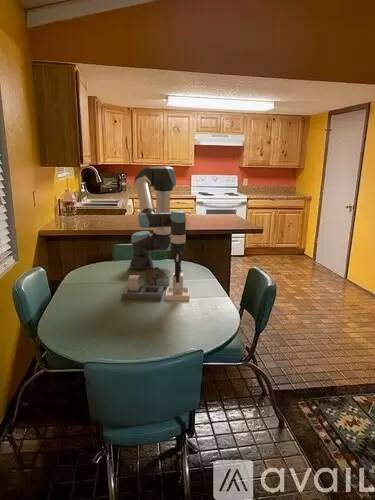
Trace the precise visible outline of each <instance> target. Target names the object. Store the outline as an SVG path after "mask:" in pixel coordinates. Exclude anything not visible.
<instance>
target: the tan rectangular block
mask: <svg viewBox="0 0 375 500" xmlns="http://www.w3.org/2000/svg"><path fill="white" fill-rule="evenodd" d="M174 275H175V272H173V273H172V287H173V295H183V287H184V273H183V272H181V273H180V288H175V276H174Z"/></svg>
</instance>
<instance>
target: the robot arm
mask: <svg viewBox="0 0 375 500" xmlns="http://www.w3.org/2000/svg"><path fill="white" fill-rule="evenodd" d="M133 184H134V188H135V189H136V192H137V198H138V203H139V211H140V213H137V225H138V227H139V228H141V229H143V228H144V229H151V228H153V230H152V233H151V232H150V231H148V230H143V231H137V232H134V233H133V234H131V241H130V243H131V257H130V258H131V259H130V262H129V269H130V270H132V271H135V272H144V271H145V272H146V269H149V268H154V262H153V260H152V257H151V253H152V252H168V251H173V258H174V273H175V275H174V276H175V288H180V273H183V269H182V261H183V260H182V256H183V251H185V250H186V241H187V240H186V236H187V235H186V230H187V229H186V228H187V227H186V226H187V225H186V224H187V223H186V221H187V214H186V211H184V210H170V209H171V193H172V191H173V189H174V188H175V187H176V185H177V177H176V173H175V169H174V168H173V167H172V166H167V165H166V166H165V165H164V166H145V167H142V168H140V170H138V172H137V173H136V175H135V176H134V180H133ZM152 187H153V190H154V191H155V203H154V199H153V194H152V190H151V188H152Z"/></svg>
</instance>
